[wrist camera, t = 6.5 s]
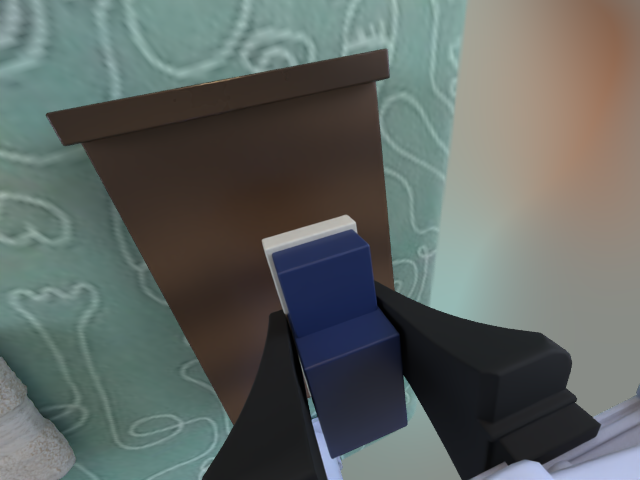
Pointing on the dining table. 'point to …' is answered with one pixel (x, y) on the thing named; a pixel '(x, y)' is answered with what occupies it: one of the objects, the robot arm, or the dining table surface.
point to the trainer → (339, 332)
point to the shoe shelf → (239, 191)
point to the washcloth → (28, 436)
